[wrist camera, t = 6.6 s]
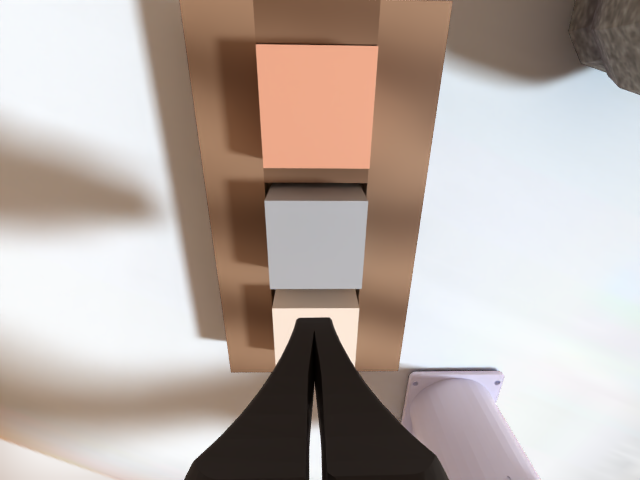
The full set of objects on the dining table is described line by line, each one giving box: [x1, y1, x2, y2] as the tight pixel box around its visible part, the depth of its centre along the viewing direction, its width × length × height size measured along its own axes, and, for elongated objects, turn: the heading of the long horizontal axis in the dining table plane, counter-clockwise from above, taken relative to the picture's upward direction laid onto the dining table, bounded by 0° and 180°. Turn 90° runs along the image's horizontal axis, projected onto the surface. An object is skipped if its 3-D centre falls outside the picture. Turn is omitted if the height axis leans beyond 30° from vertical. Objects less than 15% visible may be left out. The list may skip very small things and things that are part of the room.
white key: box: [272, 289, 359, 367], centre depth 21 cm, size 5×5×4 cm
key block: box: [179, 0, 453, 372], centre depth 20 cm, size 22×12×3 cm, turn 179°
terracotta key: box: [256, 44, 378, 169], centre depth 16 cm, size 5×5×4 cm
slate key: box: [264, 183, 368, 289], centre depth 18 cm, size 5×5×4 cm
